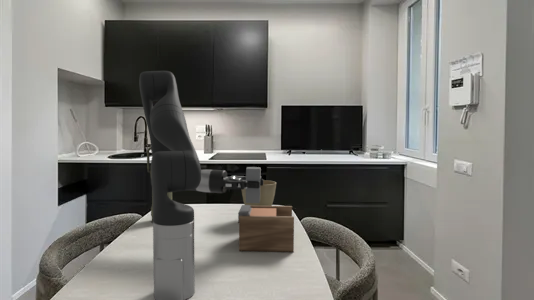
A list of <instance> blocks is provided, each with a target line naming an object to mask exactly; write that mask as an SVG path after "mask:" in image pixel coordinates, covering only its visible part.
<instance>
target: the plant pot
mask: <svg viewBox="0 0 534 300" xmlns="http://www.w3.org/2000/svg"><path fill="white" fill-rule="evenodd" d="M263 180H264V181H263V185H262V186H260V203H246V189H245V188H244V189H243V190H242V189H241V195H242V196H241V197H242V201H243V205H251V206H273V204H274V203H273V202H274V199H275V195H276V189H277V182H276V181H273V180H265V179H263Z"/></svg>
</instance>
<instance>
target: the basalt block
mask: <svg viewBox="0 0 534 300" xmlns="http://www.w3.org/2000/svg"><path fill="white" fill-rule="evenodd" d="M261 171H262V169H261V167H259V166H258V167H257V166H246V170H245V176H246V180H247V181H259V182H260V183H261V179H262V176H261V175H262V173H261ZM246 203H260V188H247V189H246Z"/></svg>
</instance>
